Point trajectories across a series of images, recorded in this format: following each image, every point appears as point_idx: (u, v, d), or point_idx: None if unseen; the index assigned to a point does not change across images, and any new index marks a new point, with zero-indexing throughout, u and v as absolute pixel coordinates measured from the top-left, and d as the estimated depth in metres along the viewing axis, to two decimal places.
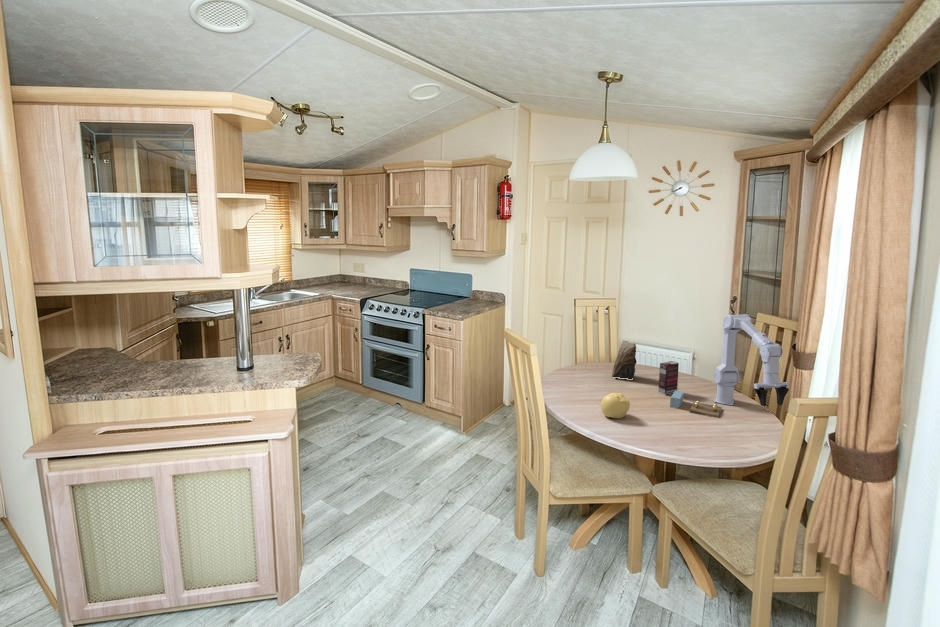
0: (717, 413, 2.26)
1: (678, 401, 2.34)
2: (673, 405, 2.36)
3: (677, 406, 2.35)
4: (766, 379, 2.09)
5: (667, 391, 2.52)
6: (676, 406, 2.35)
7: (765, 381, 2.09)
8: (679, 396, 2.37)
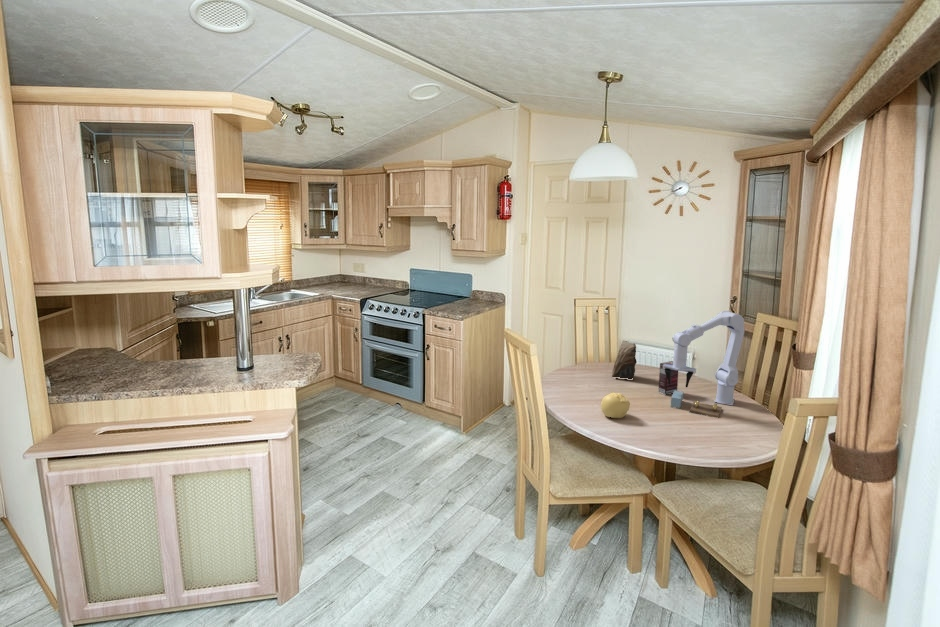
0: (717, 413, 2.26)
1: (679, 401, 2.34)
2: (674, 405, 2.36)
3: (678, 406, 2.35)
4: (673, 362, 2.37)
5: (667, 391, 2.52)
6: (677, 406, 2.35)
7: (673, 364, 2.38)
8: (679, 396, 2.37)
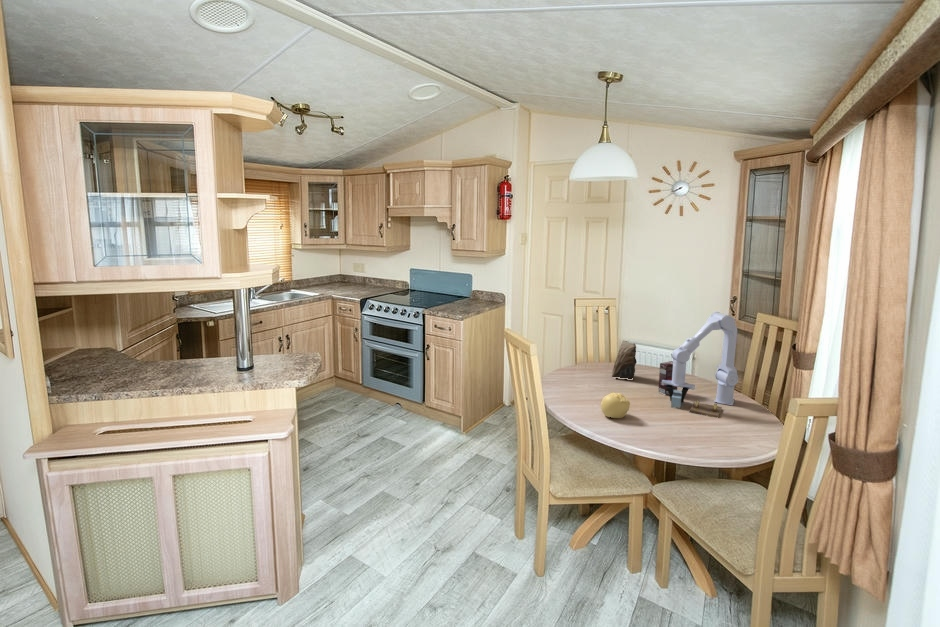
0: (717, 413, 2.26)
1: (679, 401, 2.34)
2: (674, 405, 2.36)
3: (678, 406, 2.35)
4: (672, 378, 2.39)
5: (667, 391, 2.52)
6: (677, 406, 2.35)
7: (672, 380, 2.40)
8: (679, 396, 2.37)
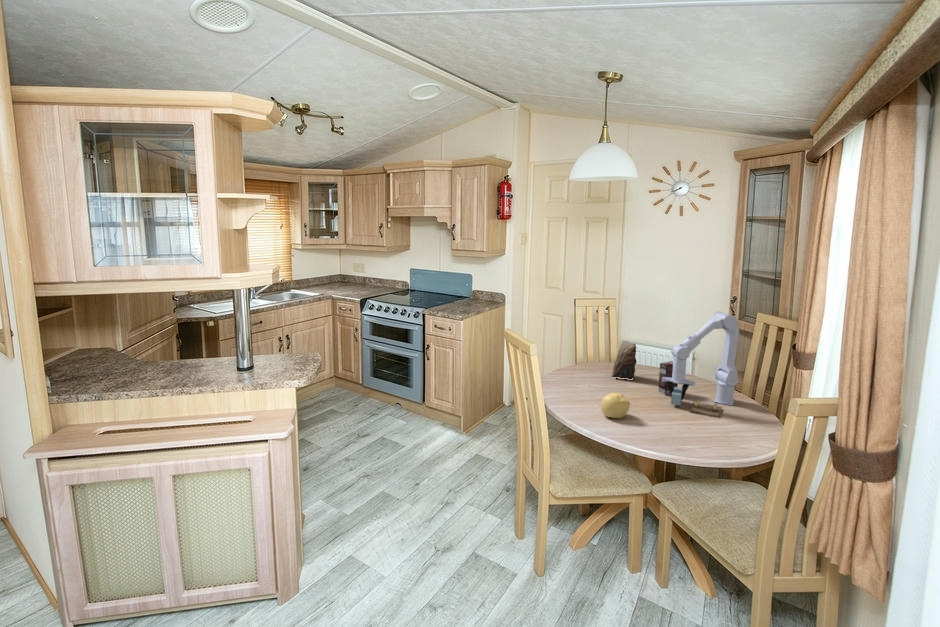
0: (717, 413, 2.26)
1: (679, 397, 2.34)
2: (674, 402, 2.35)
3: (678, 403, 2.35)
4: (672, 375, 2.39)
5: (667, 391, 2.52)
6: (677, 403, 2.35)
7: (672, 377, 2.39)
8: (680, 392, 2.37)
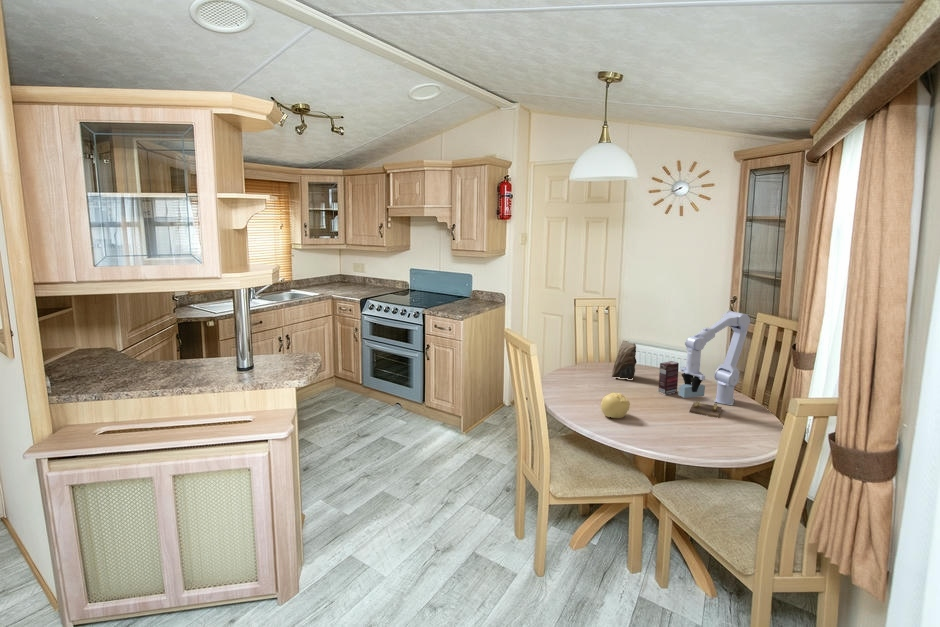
0: (717, 413, 2.26)
1: (684, 390, 2.32)
2: (680, 393, 2.34)
3: (683, 395, 2.33)
4: None
5: (667, 391, 2.52)
6: (682, 395, 2.33)
7: None
8: (689, 386, 2.33)
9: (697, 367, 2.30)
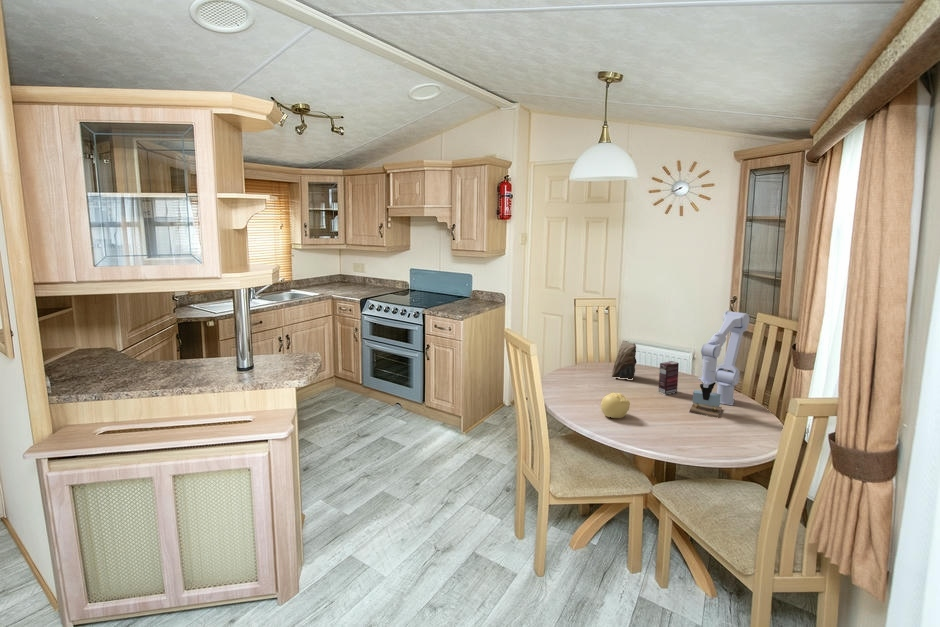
0: (717, 413, 2.26)
1: (693, 394, 2.32)
2: None
3: None
4: None
5: (667, 391, 2.52)
6: (693, 399, 2.33)
7: None
8: (701, 393, 2.30)
9: (708, 375, 2.26)
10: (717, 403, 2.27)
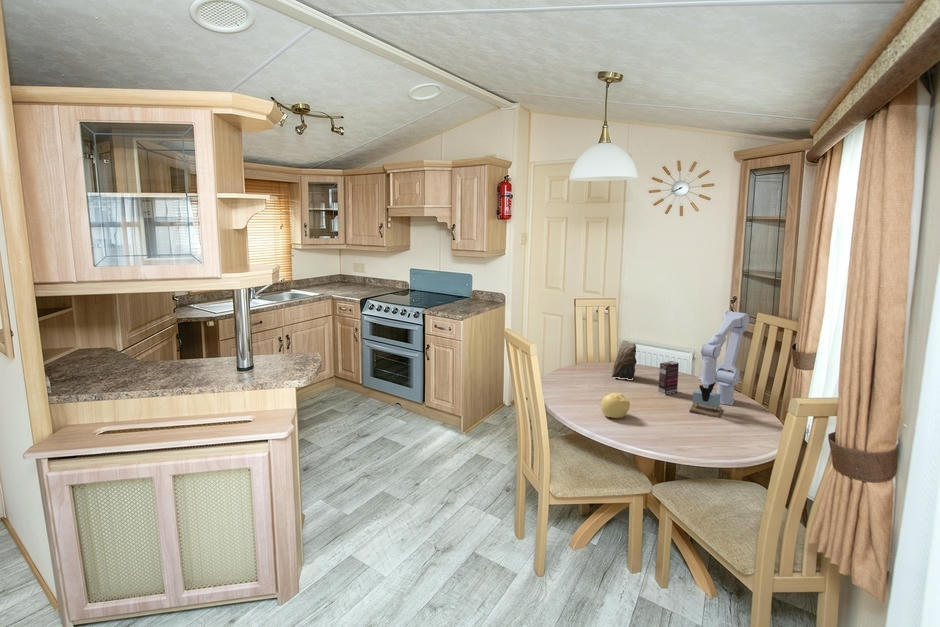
0: (717, 413, 2.26)
1: (693, 394, 2.32)
2: None
3: None
4: None
5: (667, 391, 2.52)
6: (693, 399, 2.33)
7: None
8: (701, 393, 2.30)
9: (708, 375, 2.26)
10: (717, 403, 2.27)
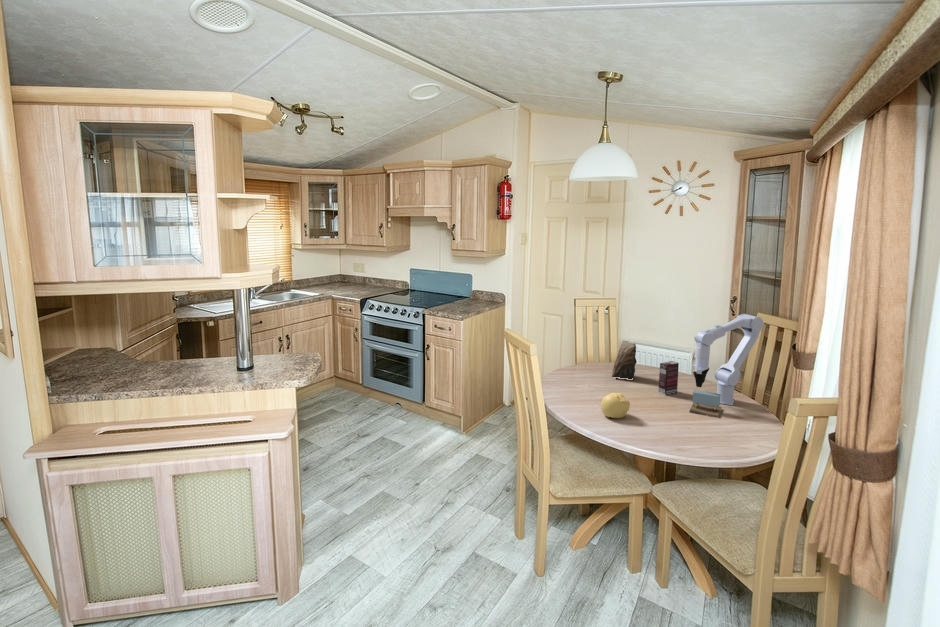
0: (717, 413, 2.26)
1: (693, 394, 2.32)
2: None
3: None
4: None
5: (667, 391, 2.52)
6: (693, 399, 2.33)
7: None
8: (701, 393, 2.30)
9: (701, 361, 2.33)
10: (717, 403, 2.27)
